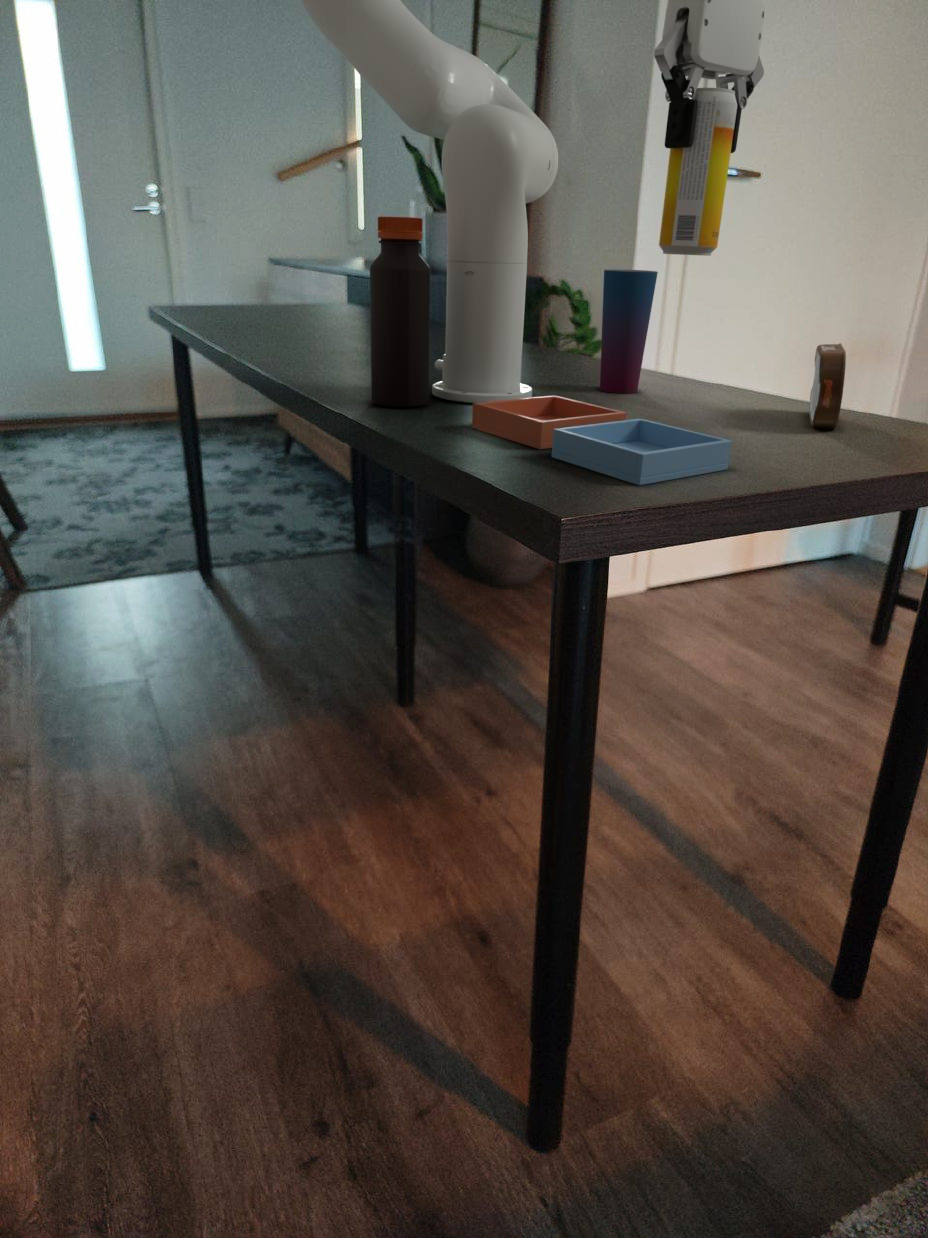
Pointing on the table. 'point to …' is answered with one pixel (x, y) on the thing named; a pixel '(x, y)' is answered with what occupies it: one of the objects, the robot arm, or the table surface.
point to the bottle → (400, 316)
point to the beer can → (699, 178)
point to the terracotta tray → (537, 418)
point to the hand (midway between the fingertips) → (700, 148)
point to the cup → (625, 327)
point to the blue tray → (641, 450)
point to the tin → (827, 385)
